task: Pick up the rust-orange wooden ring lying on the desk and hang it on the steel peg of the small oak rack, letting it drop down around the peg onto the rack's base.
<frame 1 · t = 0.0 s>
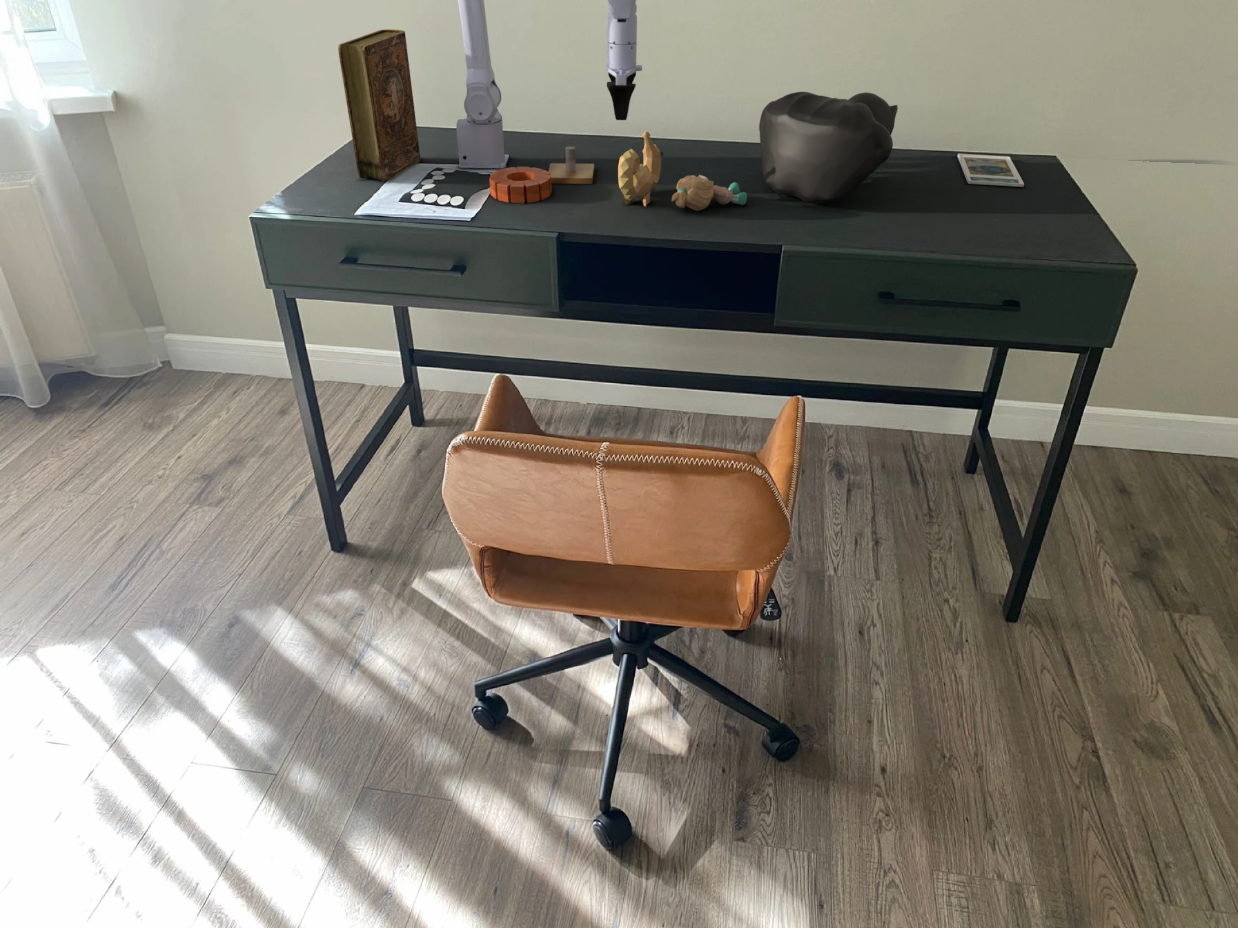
hand: (621, 114, 183), 10 cm above the table, tool pointing down, fingers open, 7 cm apart
toy 2: (640, 202, 172), on the table
rack: (571, 176, 183), on the table
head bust: (831, 187, 179), on the table
trading card: (988, 172, 187), on the table
ring: (521, 192, 175), on the table
book: (392, 170, 186), on the table
toy: (709, 208, 169), on the table
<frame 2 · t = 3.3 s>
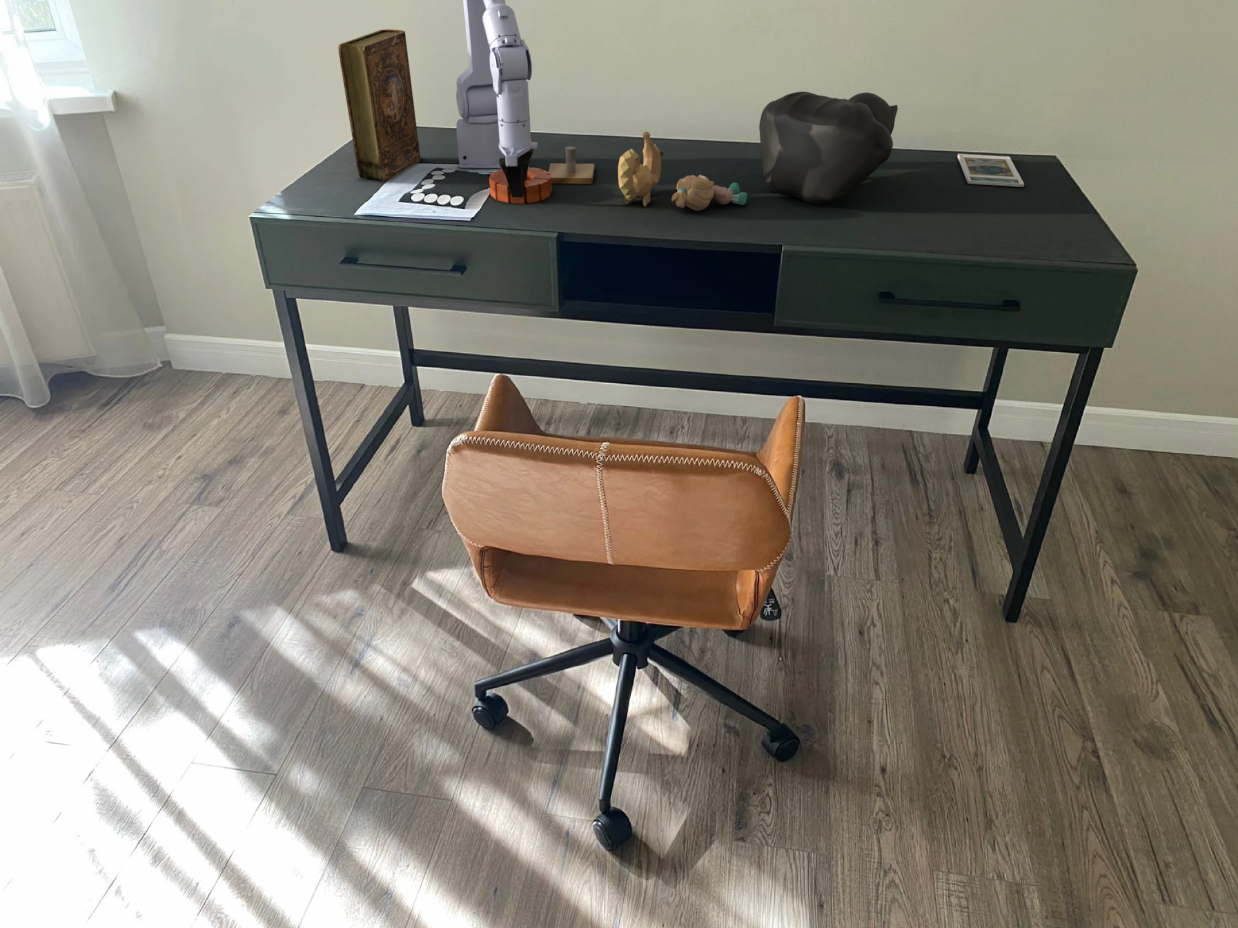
hand: (518, 193, 171), 1 cm above the table, tool pointing down, fingers closed on ring, 3 cm apart
ring: (521, 193, 175), on the table, touching gripper
everything else where it was.
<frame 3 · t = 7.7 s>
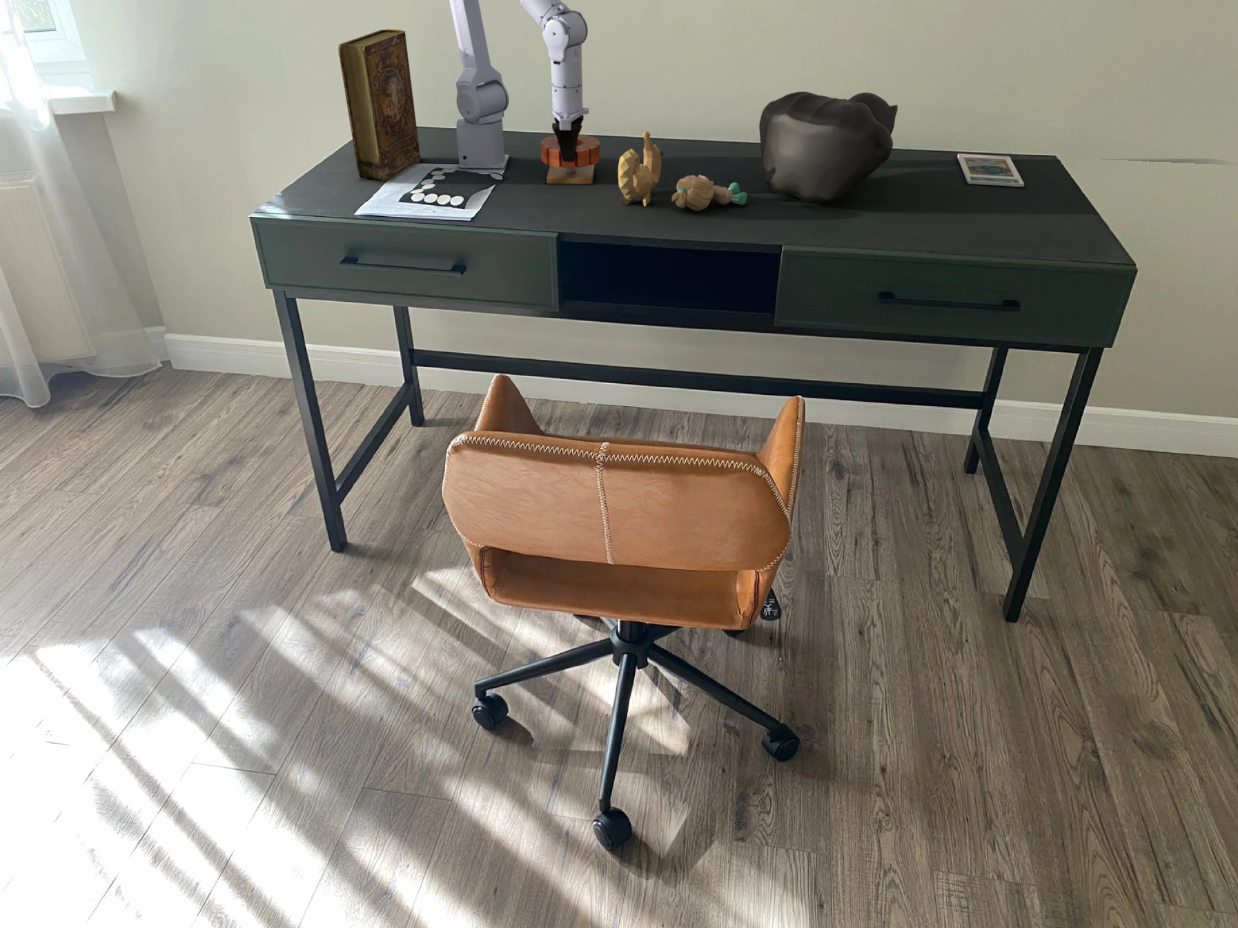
hand: (569, 158, 177), 5 cm above the table, tool pointing down, fingers closed on ring, 3 cm apart
ring: (570, 158, 181), point 4 cm above the table, touching gripper
everything else where it was.
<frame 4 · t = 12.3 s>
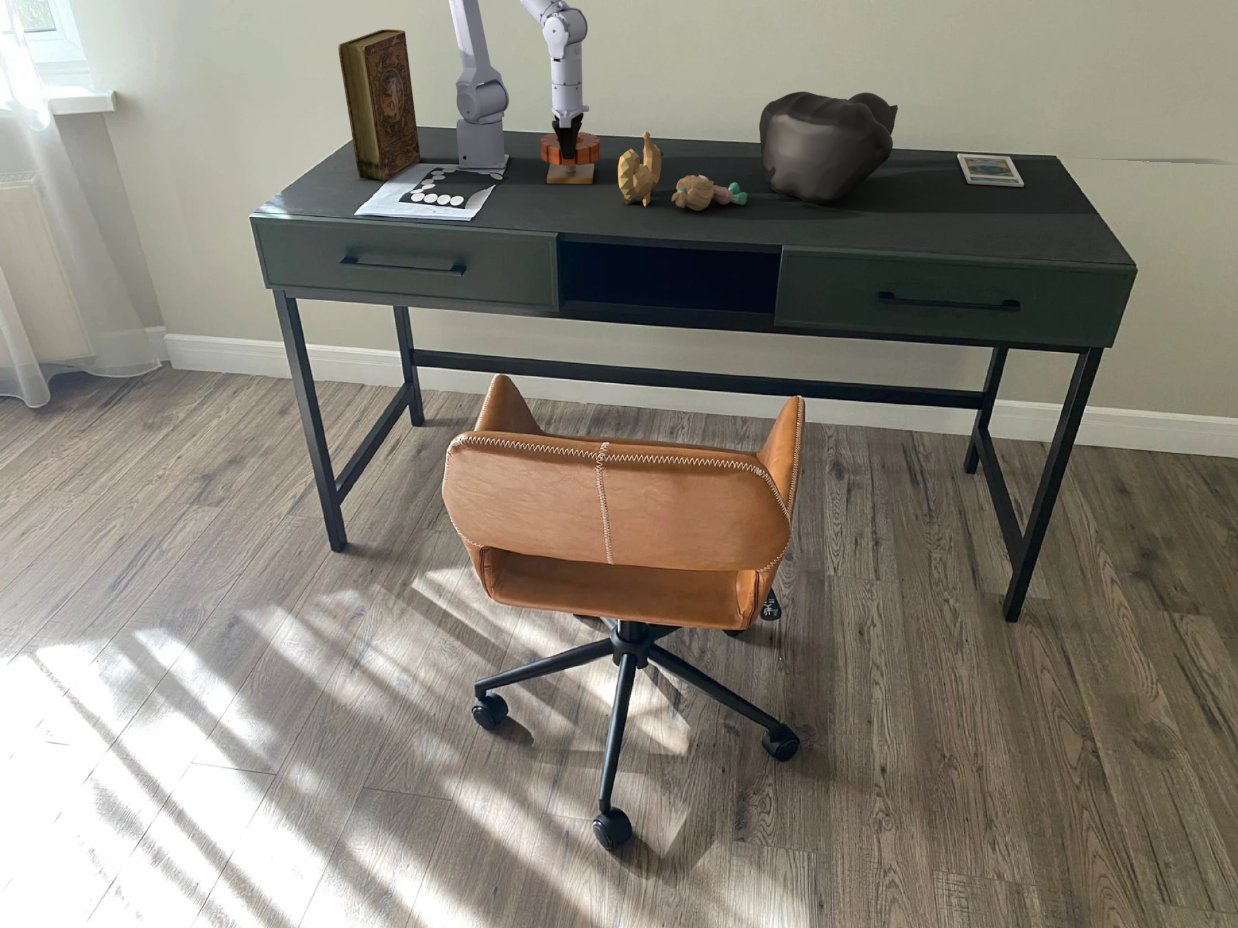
hand: (569, 155, 176), 5 cm above the table, tool pointing down, fingers closed on ring, 3 cm apart
ring: (570, 156, 181), point 4 cm above the table, touching gripper
everything else where it was.
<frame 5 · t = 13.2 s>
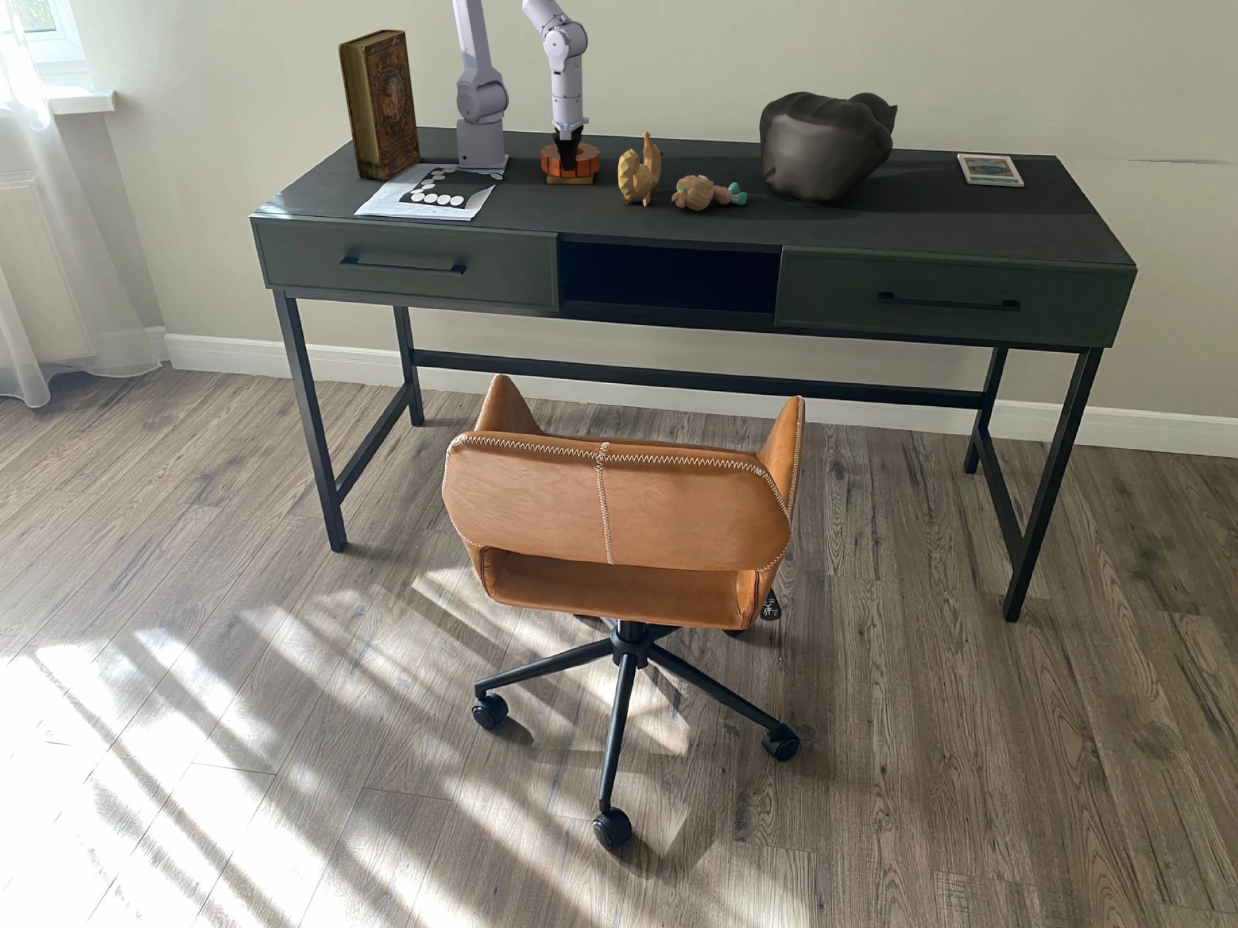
hand: (569, 167, 178), 3 cm above the table, tool pointing down, fingers closed on ring, 3 cm apart
ring: (570, 167, 182), point 2 cm above the table, touching gripper
everything else where it was.
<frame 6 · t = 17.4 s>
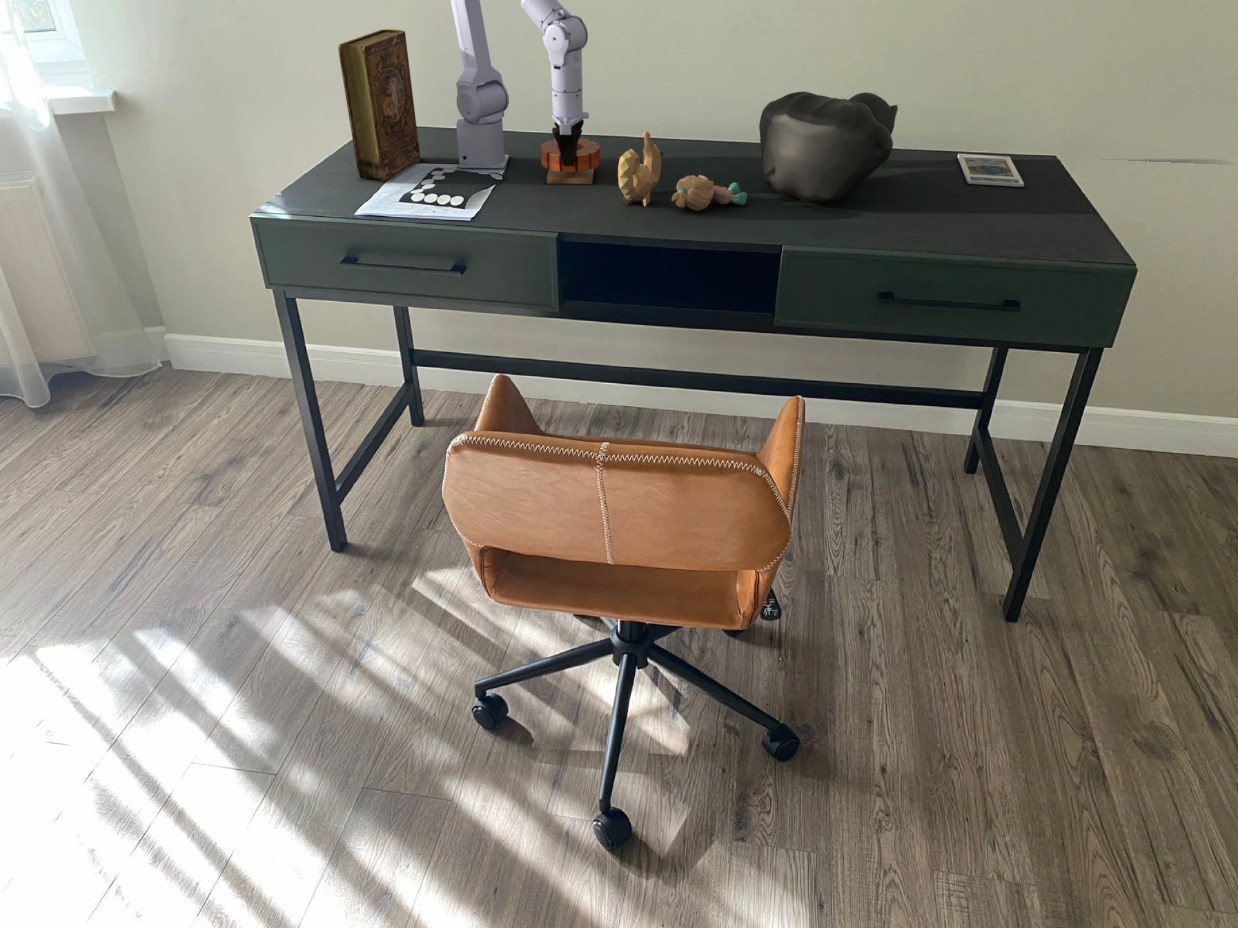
hand: (569, 162, 177), 4 cm above the table, tool pointing down, fingers closed on ring, 3 cm apart
ring: (570, 162, 181), point 3 cm above the table, touching gripper
everything else where it was.
when the fingers open (6 cm above the table, at t = 21.2 s): ring drops 4 cm, resting on rack.
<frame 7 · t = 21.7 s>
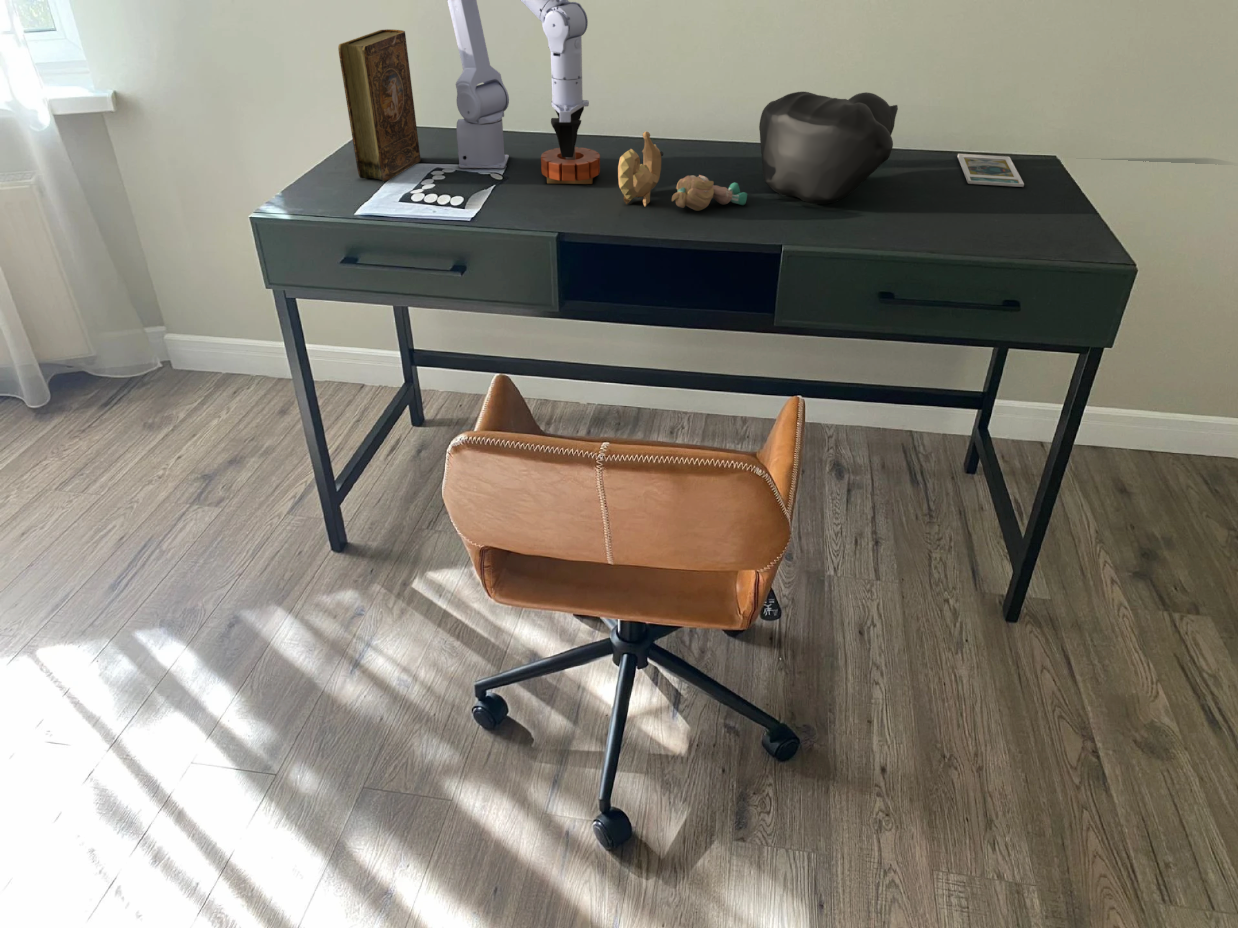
hand: (568, 151, 176), 6 cm above the table, tool pointing down, fingers open, 7 cm apart
ring: (570, 171, 182), point 1 cm above the table, touching rack
everything else where it was.
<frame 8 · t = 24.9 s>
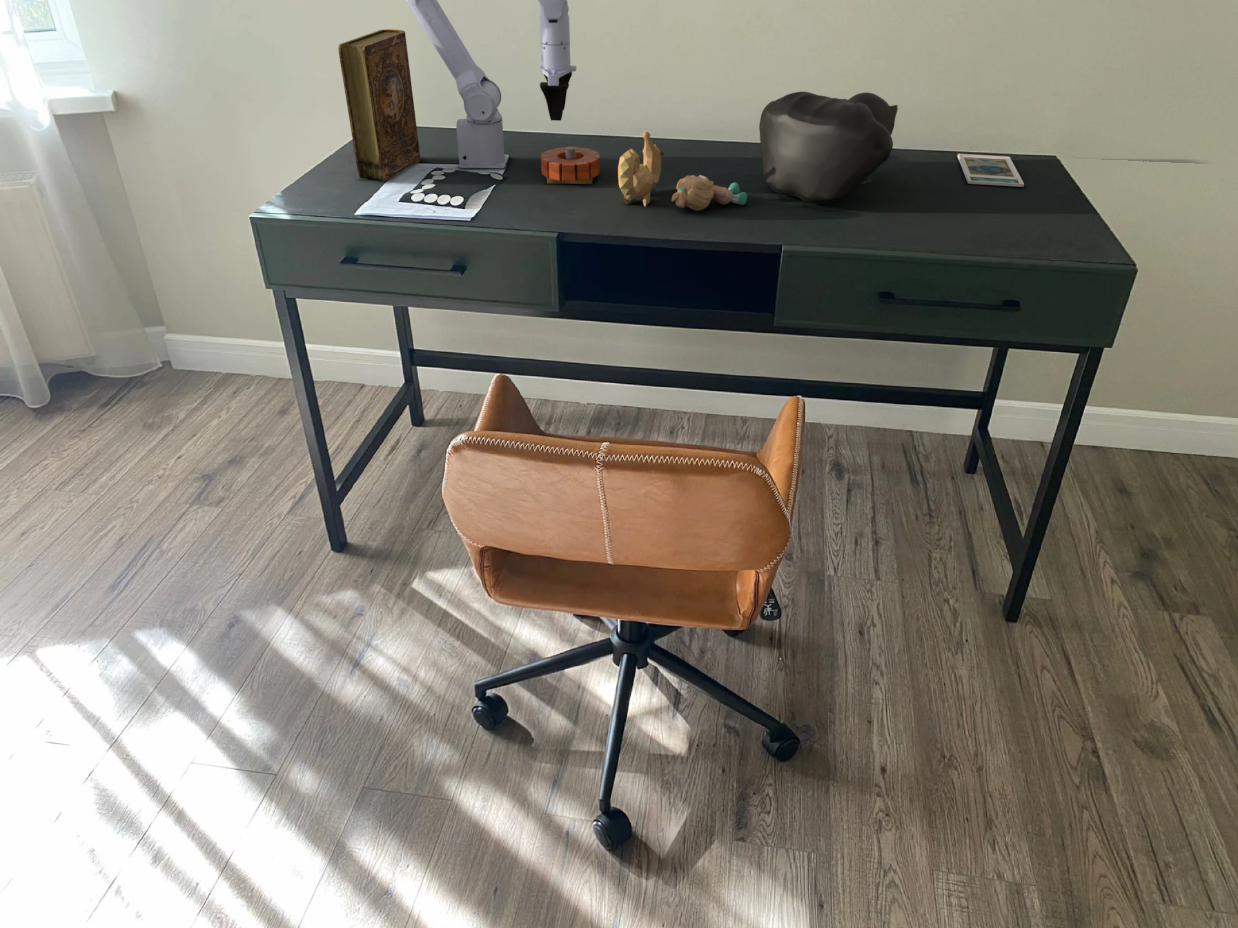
hand: (557, 115, 184), 10 cm above the table, tool pointing down, fingers open, 7 cm apart
nothing on the table moved.
at the end: ring 0.7 cm off-centre on the rack, point 1.2 cm above the rack's base; the gripper is holding nothing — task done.
